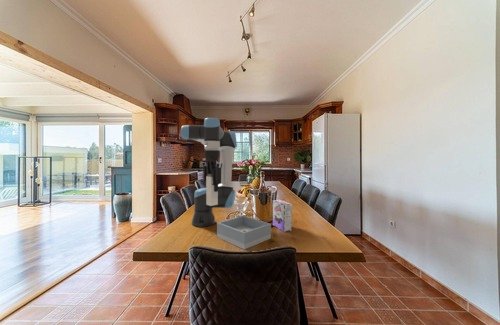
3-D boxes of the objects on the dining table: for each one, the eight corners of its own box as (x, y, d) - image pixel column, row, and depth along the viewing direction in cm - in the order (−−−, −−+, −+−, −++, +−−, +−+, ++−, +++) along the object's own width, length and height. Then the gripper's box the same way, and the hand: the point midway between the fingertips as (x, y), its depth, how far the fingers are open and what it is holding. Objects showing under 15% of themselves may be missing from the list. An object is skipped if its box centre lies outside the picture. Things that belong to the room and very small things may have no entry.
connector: (206, 204, 106) (206, 174, 106) (213, 203, 109) (213, 173, 108) (211, 205, 103) (210, 174, 103) (217, 204, 106) (217, 174, 106)
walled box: (217, 237, 119) (217, 222, 119) (243, 228, 133) (243, 215, 133) (244, 249, 103) (244, 233, 103) (270, 238, 117) (271, 223, 117)
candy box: (272, 225, 140) (272, 200, 139) (280, 224, 142) (280, 199, 141) (283, 232, 127) (283, 204, 126) (292, 230, 129) (292, 203, 129)
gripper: (196, 150, 109) (196, 195, 109) (216, 149, 97) (216, 201, 97) (208, 150, 114) (208, 194, 115) (229, 149, 102) (228, 198, 103)
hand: (212, 197), depth 106 cm, fingers closed on connector, 4 cm apart
